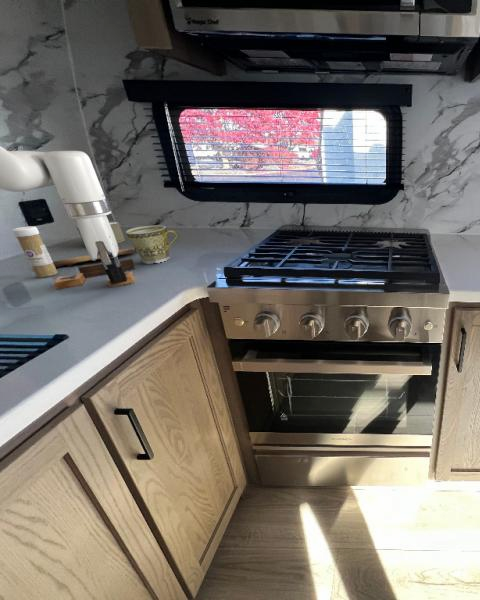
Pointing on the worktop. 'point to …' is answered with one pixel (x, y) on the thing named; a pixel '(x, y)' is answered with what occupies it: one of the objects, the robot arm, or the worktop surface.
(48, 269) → the sprinkles bottle
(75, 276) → the tile
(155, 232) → the ceramic cup
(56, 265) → the wooden board
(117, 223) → the olive green bowl
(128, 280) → the tile
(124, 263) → the dark brown wooden block
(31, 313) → the worktop surface
